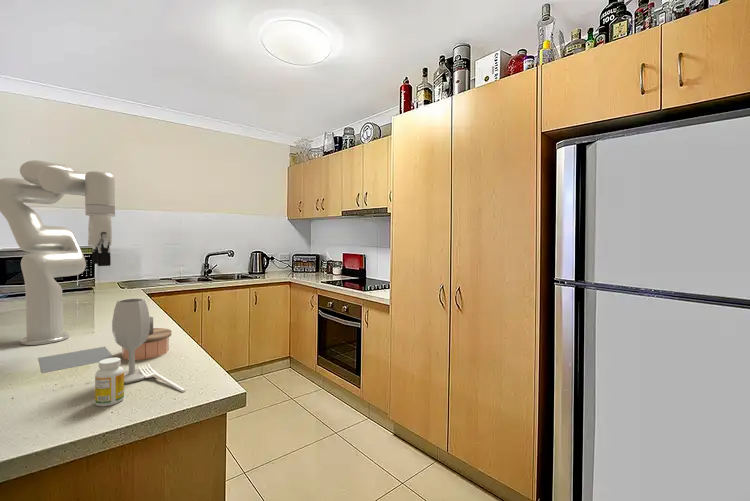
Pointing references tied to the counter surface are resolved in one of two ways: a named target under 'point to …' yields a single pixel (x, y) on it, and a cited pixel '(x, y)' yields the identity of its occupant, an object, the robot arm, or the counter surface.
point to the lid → (157, 333)
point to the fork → (159, 377)
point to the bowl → (149, 350)
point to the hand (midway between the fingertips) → (101, 264)
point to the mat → (73, 359)
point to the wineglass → (131, 331)
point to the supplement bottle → (109, 382)
